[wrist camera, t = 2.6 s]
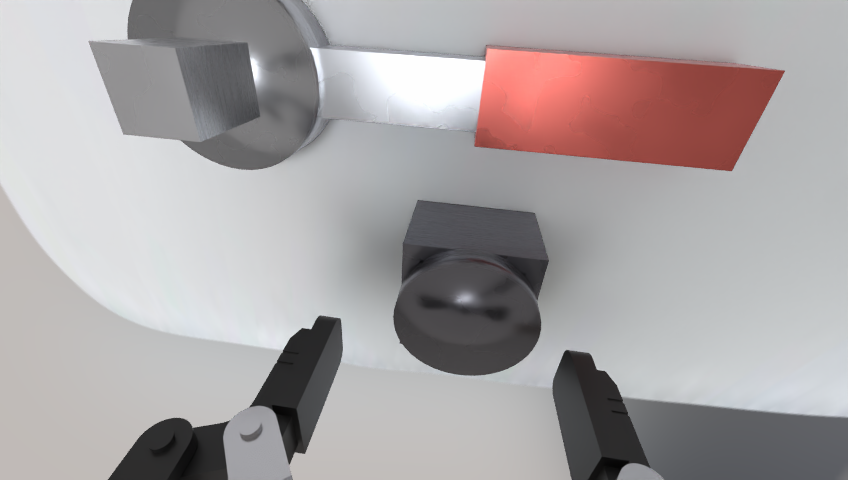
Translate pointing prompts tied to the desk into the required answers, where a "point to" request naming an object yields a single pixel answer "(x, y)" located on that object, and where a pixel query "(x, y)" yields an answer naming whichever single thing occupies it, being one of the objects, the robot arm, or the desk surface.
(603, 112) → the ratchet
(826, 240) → the desk surface
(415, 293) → the block with domed cap
